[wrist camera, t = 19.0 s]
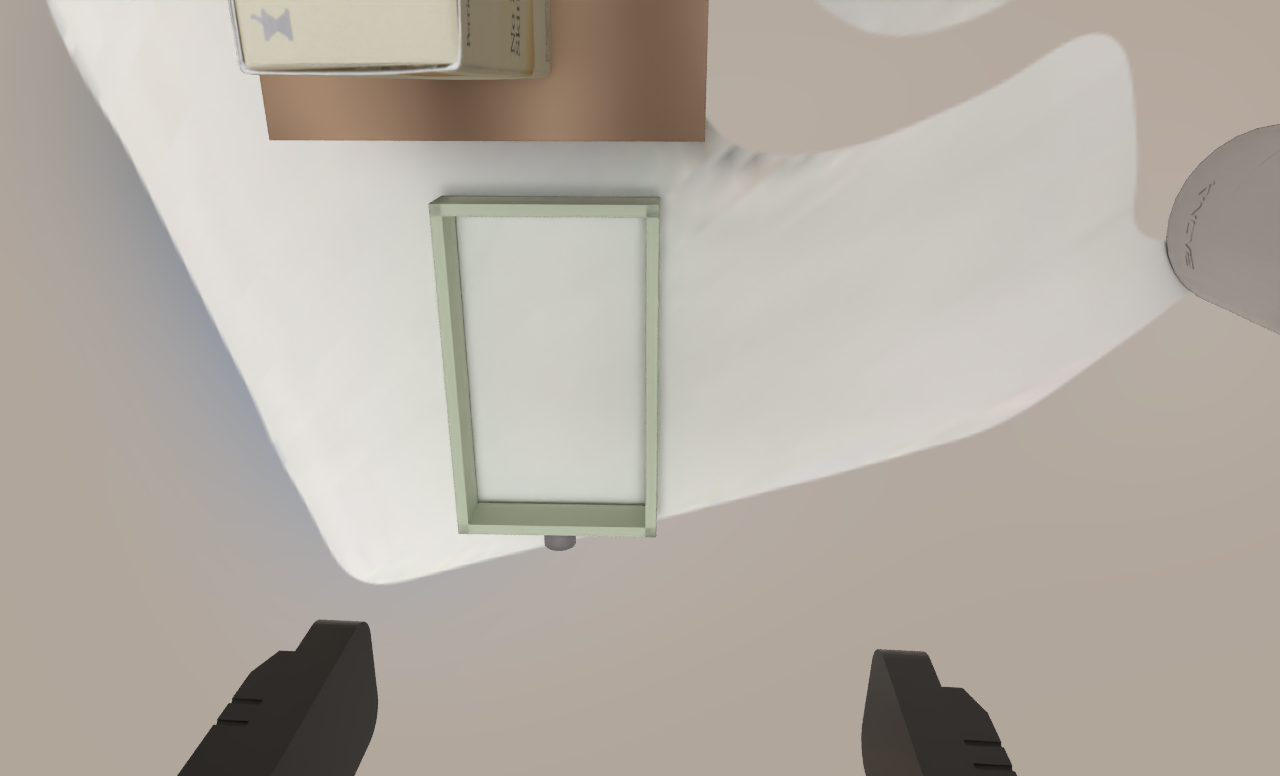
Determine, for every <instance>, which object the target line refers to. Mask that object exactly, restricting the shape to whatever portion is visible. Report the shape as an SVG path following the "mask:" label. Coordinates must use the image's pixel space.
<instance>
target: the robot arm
mask: <svg viewBox="0 0 1280 776" xmlns="http://www.w3.org/2000/svg"><path fill="white" fill-rule="evenodd" d="M1167 247H1168V256H1169V259H1170V261H1171V264H1172V267H1173V270H1174V272H1175V273H1176V275H1177V276H1178V278H1179V279H1180V281H1181V282H1182V283H1183V285H1184V286H1185V287H1187V288H1188V289H1189V290H1190V291H1191V292H1193V293H1194V294H1195V295H1196V296H1198V297H1200V298H1202V299H1204V300H1206V301H1208V302H1211V303H1213V304H1215V305H1217V306H1219V307H1221V308H1224V309H1226V310H1228V311H1230V312H1232V313H1235V314H1237V315H1239V316H1241V317H1243V318H1245V319H1248V320H1249V321H1251V322H1253V323H1256V324H1258V325H1260V326H1262V327H1264V328H1267V329H1269V330H1271V331H1273V332H1276V333H1278V334H1280V124H1278V125H1272V126H1268V127H1262V128H1257V129H1255V130H1252V131H1249V132H1247V133H1244V134H1242V135H1239V136H1237V137H1235V138H1233V139H1232V140H1230V141H1228V142H1227V143H1225V144H1224V145H1222V146H1220V147H1219V148H1217V149H1216V150H1215V151H1214V152H1213V153H1211V154H1210V155H1209V156H1208V157H1207V158H1206V159H1205V160H1203V161H1202V162H1201V163H1200V164H1199V165H1198V167H1197V168H1196V169H1195V170H1194V171H1193V173H1192V174H1191V175H1190V176H1189V178H1188V179H1187V180H1186V181H1185V183H1184V185H1183V187H1182V188H1181V190H1180V192H1179V194H1178V196H1177V198H1176V199H1175V202H1174V205H1173V208H1172V211H1171V214H1170V217H1169V223H1168V230H1167ZM377 709H378V695H377V686H376V677H375V668H374V659H373V651H372V642H371V633H370V629H369V626H368V624H367V623H366V622H359V621H338V620H318V621H316V622H315V623H314V624H313V625H312V626H311V628H310V629H309V631H308V633H307V634H306V636H305V637H304V639H303V640H302V642H301V643H300V645H299V646H298V648H297V649H296V651H278V652H277V653H276V654H275V655H273V656H272V657H270V658H269V659H268V660H267V661H265V662H264V663H263V664H261V665H260V666H258V667H257V668H256V669H255V670H253V671H252V672H251V673H250V674H249V675H248V677H247V678H246V680H245V681H244V683H243V684H242V685H241V687H240V688H239V690H238V691H237V692H236V694H235V695H234V697H233V698H232V703H229V704H228V705H227V707H226V708H225V709H224V711H223V712H222V714H221V715H220V716H219V718H218V719H217V725H213V726H212V728H211V729H210V731H209V732H208V733H207V735H206V736H205V737H204V739H203V740H202V742H201V743H200V745H199V746H198V747H197V749H196V750H195V752H194V753H193V755H192V756H191V757H190V759H189V760H188V761H187V763H186V764H185V766H184V767H183V768H182V770H181V771H180V773H179V774H178V776H354V775H355V773H356V771H357V769H358V767H359V765H360V762H361V760H362V758H363V756H364V754H365V752H366V749H367V747H368V745H369V743H370V740H371V738H372V735H373V732H374V728H375V724H376V719H377ZM861 739H862V740H861V741H862V757H863V764H864V769H865V773H866V776H1017V775H1016V773H1015V772H1014V771H1012V764H1011V762H1010V760H1009V758H1008V756H1007V753H1006V751H1005V749H1004V748H1003V747H1001V741H1000V739H999V736H998V734H997V732H996V730H995V728H994V726H993V723H992V721H991V719H990V717H989V715H988V713H987V712H986V711H985V710H984V709H983V708H982V707H981V706H980V705H979V704H978V703H977V702H976V701H975V700H974V699H973V698H972V697H971V696H970V695H969V694H968V693H967V692H966V691H965V690H964V689H963V688H953V687H941V684H940V682H939V680H938V678H937V675H936V672H935V670H934V667H933V665H932V663H931V660H930V658H929V656H928V655H927V653H926V652H920V651H901V650H882V649H880V650H879V649H877V650H876V651H875V652H874V655H873V659H872V665H871V672H870V678H869V684H868V691H867V698H866V704H865V710H864V717H863V724H862V737H861Z"/></svg>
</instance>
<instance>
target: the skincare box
mask: <svg viewBox="0 0 1280 776" xmlns="http://www.w3.org/2000/svg"><path fill="white" fill-rule="evenodd" d="M228 3H229V9H230V16H231V22H232V28H233V33H234V39H235V44H236V51H237V61H238V64H239V67H240V70H241V71H242V72H243V73H245V74H252V75H294V76H327V77H360V78H400V79H436V80H501V79H531V78H545V77H548V76H549V74H550V68H551V30H550V0H228Z"/></svg>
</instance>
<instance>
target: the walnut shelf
mask: <svg viewBox="0 0 1280 776" xmlns="http://www.w3.org/2000/svg"><path fill="white" fill-rule="evenodd" d="M550 30H551V68H550V74H549V76H548V77H545V78H531V79H501V80H436V79H400V78H360V77H327V76H294V75H260V82H261V88H262V95H263V101H264V107H265V114H266V120H267V127H268V133H269V140H392V141H700V142H705V109H706V71H707V37H708V35H707V34H708V0H550Z"/></svg>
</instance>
